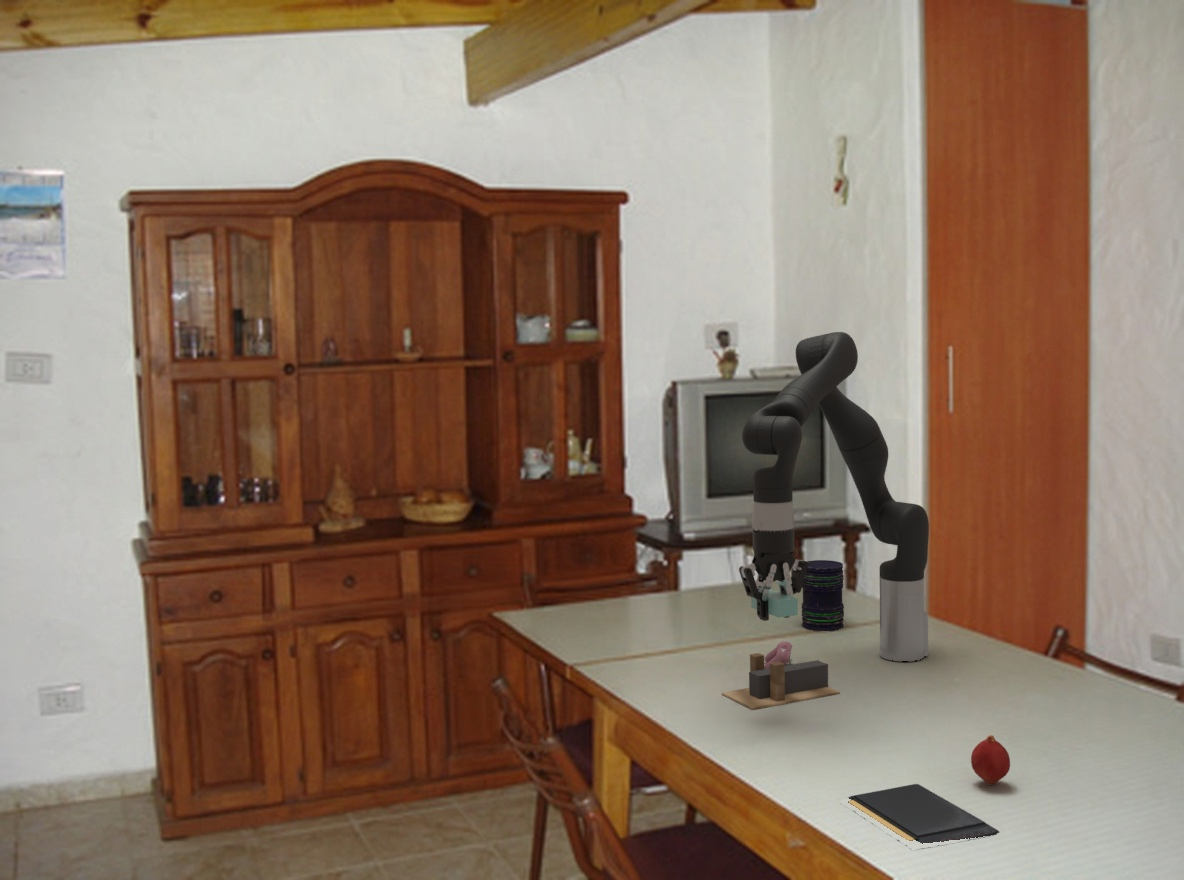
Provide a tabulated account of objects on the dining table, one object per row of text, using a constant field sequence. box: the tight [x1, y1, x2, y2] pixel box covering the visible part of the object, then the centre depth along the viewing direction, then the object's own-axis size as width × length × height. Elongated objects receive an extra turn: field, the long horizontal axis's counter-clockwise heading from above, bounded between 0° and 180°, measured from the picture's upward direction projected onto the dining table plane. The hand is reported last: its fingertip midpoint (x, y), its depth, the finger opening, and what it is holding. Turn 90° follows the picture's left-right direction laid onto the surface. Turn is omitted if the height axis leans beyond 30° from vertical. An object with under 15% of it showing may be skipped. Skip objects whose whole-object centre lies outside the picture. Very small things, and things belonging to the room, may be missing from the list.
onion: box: [970, 734, 1011, 786], centre depth 192 cm, size 6×6×8 cm
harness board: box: [721, 652, 841, 711], centre depth 240 cm, size 20×11×7 cm, turn 115°
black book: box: [847, 783, 1000, 844], centre depth 181 cm, size 20×2×15 cm
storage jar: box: [801, 559, 845, 632], centre depth 291 cm, size 10×10×15 cm
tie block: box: [750, 588, 799, 618], centre depth 226 cm, size 4×9×3 cm, turn 25°
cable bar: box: [748, 659, 829, 699], centre depth 241 cm, size 16×4×4 cm, turn 115°
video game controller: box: [764, 640, 793, 669], centre depth 257 cm, size 10×5×7 cm, turn 169°
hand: (774, 617), depth 226 cm, fingers closed on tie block, 4 cm apart
